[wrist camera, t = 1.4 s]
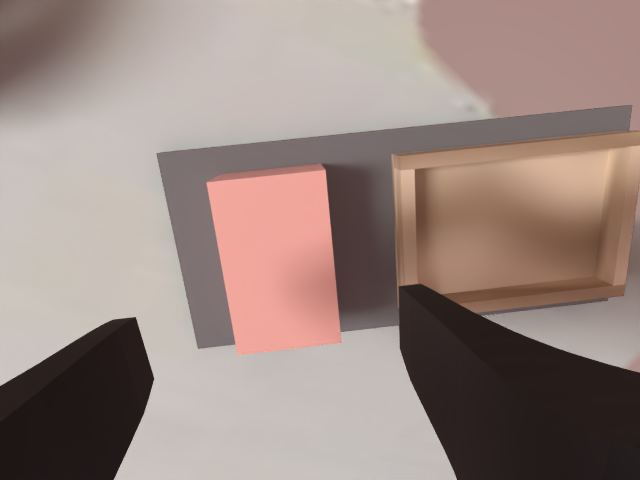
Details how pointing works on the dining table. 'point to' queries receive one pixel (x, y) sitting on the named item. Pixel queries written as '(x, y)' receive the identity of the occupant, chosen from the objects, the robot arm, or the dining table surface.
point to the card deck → (277, 257)
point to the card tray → (518, 219)
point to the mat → (338, 206)
